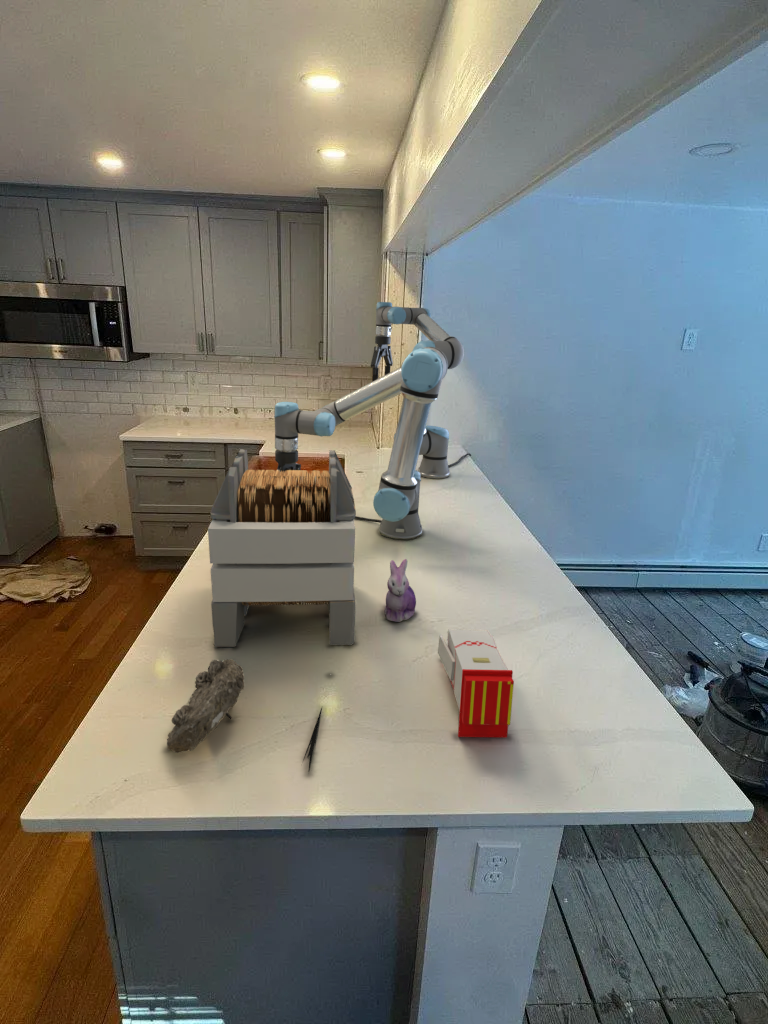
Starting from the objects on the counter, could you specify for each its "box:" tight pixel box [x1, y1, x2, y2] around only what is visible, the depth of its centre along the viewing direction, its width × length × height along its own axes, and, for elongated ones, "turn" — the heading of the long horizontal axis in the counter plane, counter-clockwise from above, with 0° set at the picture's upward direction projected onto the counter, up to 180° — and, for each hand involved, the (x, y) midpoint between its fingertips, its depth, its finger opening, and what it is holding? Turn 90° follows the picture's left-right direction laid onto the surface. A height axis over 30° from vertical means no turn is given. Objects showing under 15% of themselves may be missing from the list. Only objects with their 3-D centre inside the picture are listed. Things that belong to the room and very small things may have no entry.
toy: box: [437, 628, 515, 738], centre depth 117 cm, size 12×13×30 cm
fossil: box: [166, 658, 245, 754], centre depth 106 cm, size 22×10×15 cm
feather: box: [301, 673, 332, 771], centre depth 108 cm, size 2×28×2 cm
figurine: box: [384, 558, 417, 623], centre depth 145 cm, size 9×10×15 cm
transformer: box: [207, 448, 357, 649], centre depth 139 cm, size 34×33×41 cm
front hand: (287, 515), depth 195 cm, fingers closed on block, 6 cm apart
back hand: (381, 380), depth 282 cm, fingers open, 13 cm apart
